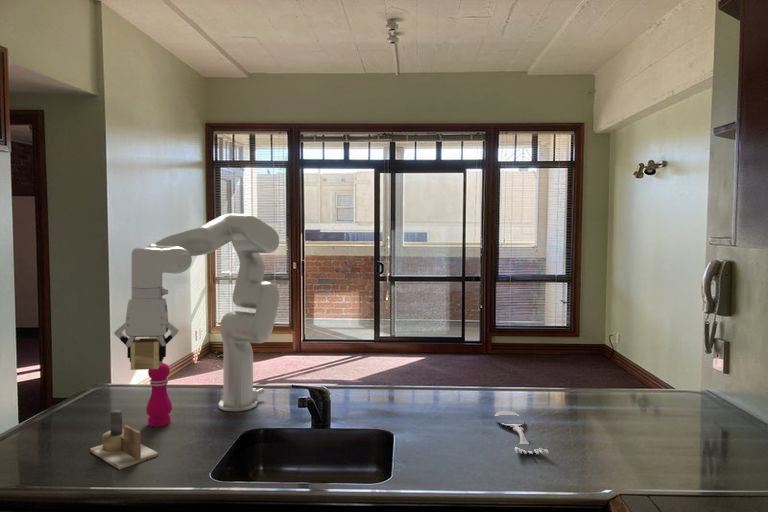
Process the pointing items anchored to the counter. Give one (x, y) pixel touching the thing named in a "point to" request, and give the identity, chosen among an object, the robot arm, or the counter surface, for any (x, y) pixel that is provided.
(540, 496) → the counter surface
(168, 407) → the pepper mill
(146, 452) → the hinge base
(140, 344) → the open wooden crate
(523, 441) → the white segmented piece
